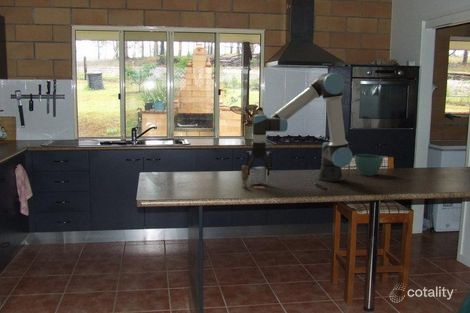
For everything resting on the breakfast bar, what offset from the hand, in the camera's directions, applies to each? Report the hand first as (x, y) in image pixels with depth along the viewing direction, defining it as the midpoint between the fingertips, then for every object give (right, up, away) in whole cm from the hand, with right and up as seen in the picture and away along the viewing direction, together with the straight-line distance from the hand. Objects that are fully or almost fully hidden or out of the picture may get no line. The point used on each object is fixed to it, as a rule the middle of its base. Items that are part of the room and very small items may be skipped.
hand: (258, 180), depth 291 cm
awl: (-8, -3, -10) cm, 13 cm away
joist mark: (0, -3, -10) cm, 10 cm away
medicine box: (0, -1, 0) cm, 1 cm away
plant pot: (+74, +2, +41) cm, 84 cm away
